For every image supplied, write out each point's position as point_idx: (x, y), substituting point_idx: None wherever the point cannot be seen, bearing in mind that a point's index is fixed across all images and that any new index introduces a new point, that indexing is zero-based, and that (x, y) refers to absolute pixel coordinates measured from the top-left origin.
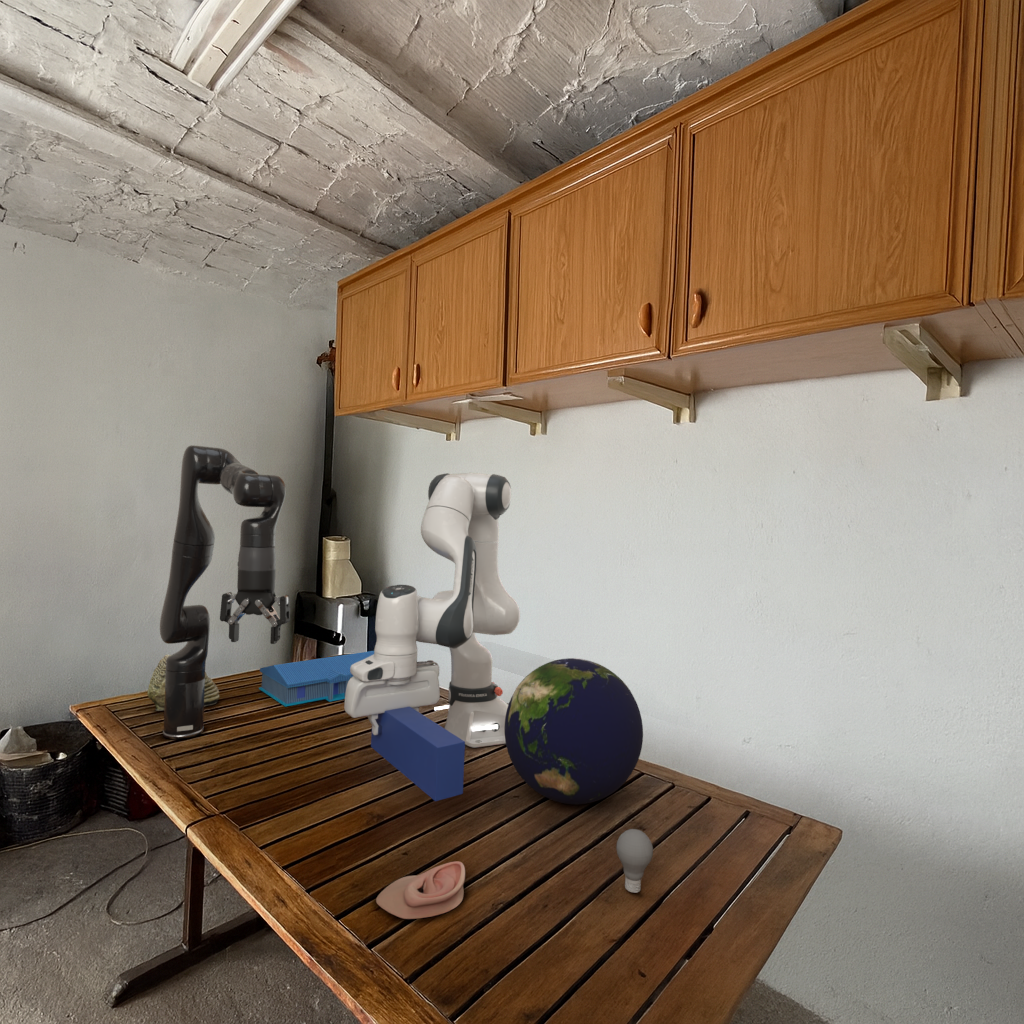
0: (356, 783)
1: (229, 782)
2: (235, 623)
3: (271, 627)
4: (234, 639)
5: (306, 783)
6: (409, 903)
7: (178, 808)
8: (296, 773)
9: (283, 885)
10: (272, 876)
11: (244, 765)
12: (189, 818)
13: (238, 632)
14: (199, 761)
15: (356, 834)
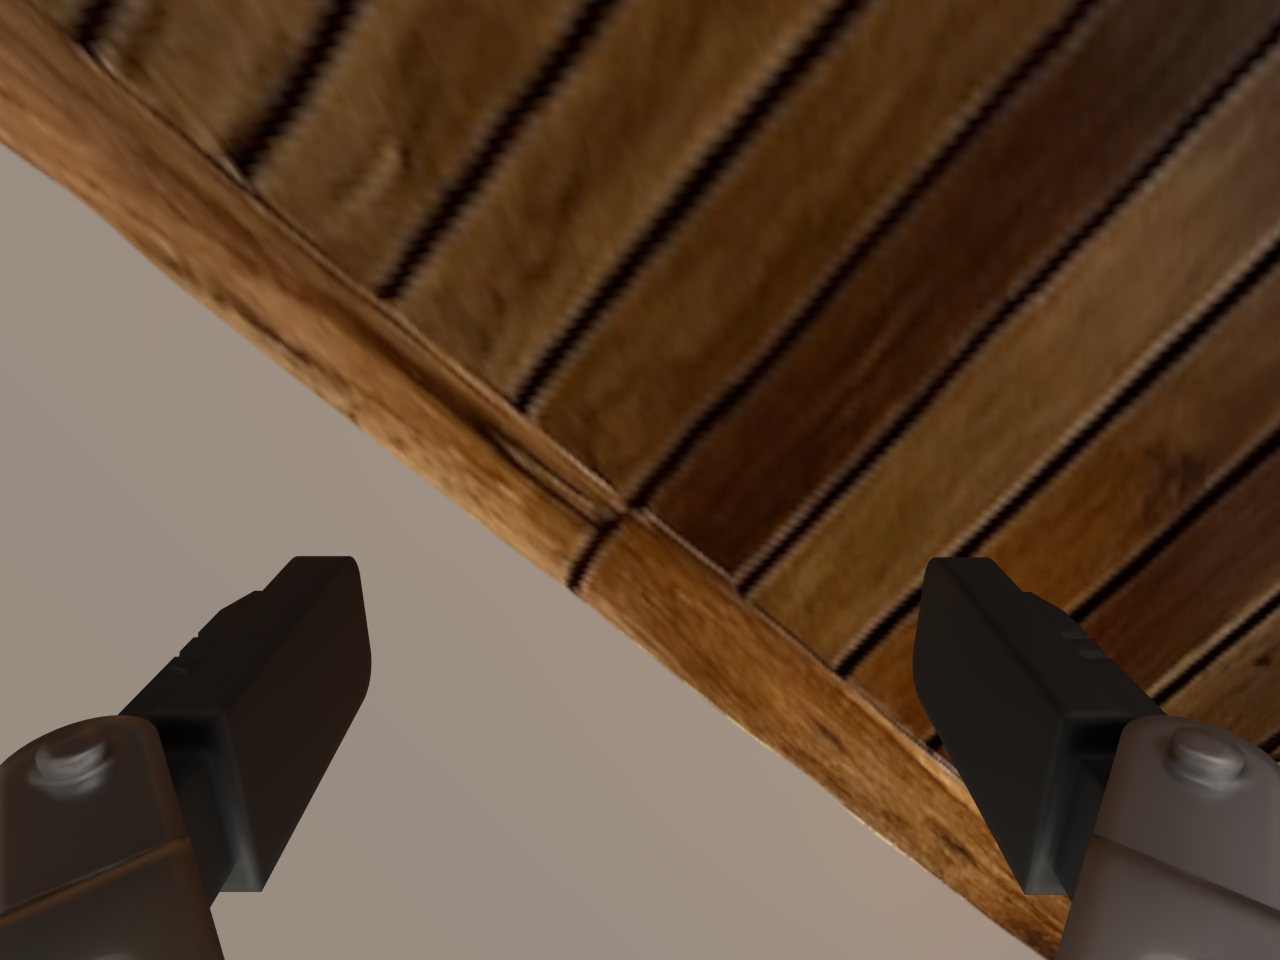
0: (1087, 208)
1: (541, 269)
2: (215, 852)
3: (1032, 888)
4: (359, 699)
5: (868, 237)
6: None
7: (471, 492)
8: (795, 136)
9: (948, 805)
10: (911, 778)
11: (517, 75)
12: (547, 549)
13: (306, 628)
14: (279, 56)
15: (1113, 583)
